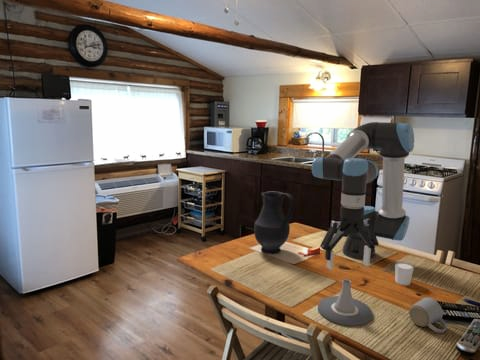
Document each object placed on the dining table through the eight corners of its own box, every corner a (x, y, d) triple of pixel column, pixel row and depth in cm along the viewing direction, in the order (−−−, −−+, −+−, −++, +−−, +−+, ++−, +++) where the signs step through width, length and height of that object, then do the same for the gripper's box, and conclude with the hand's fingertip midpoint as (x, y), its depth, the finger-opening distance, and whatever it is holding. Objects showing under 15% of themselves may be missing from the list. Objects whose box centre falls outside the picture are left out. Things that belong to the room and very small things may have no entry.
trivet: (354, 296, 140) (354, 293, 140) (383, 322, 123) (383, 319, 123) (309, 301, 136) (309, 298, 136) (332, 329, 119) (333, 325, 119)
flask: (356, 315, 125) (359, 287, 123) (334, 312, 126) (336, 284, 125) (354, 304, 132) (356, 277, 130) (333, 302, 133) (335, 275, 132)
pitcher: (268, 241, 197) (271, 185, 191) (301, 252, 183) (305, 192, 177) (246, 250, 184) (247, 190, 179) (279, 262, 170) (282, 198, 165)
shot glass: (411, 280, 155) (412, 264, 154) (412, 287, 149) (414, 270, 147) (393, 277, 157) (394, 261, 156) (394, 284, 151) (395, 268, 150)
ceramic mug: (405, 321, 124) (408, 299, 123) (419, 314, 129) (422, 293, 127) (437, 337, 116) (440, 315, 114) (451, 329, 120) (454, 307, 119)
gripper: (322, 211, 116) (318, 275, 120) (393, 207, 122) (387, 268, 126) (312, 204, 123) (309, 265, 127) (379, 201, 129) (374, 259, 133)
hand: (348, 267), depth 127 cm, fingers open, 13 cm apart
